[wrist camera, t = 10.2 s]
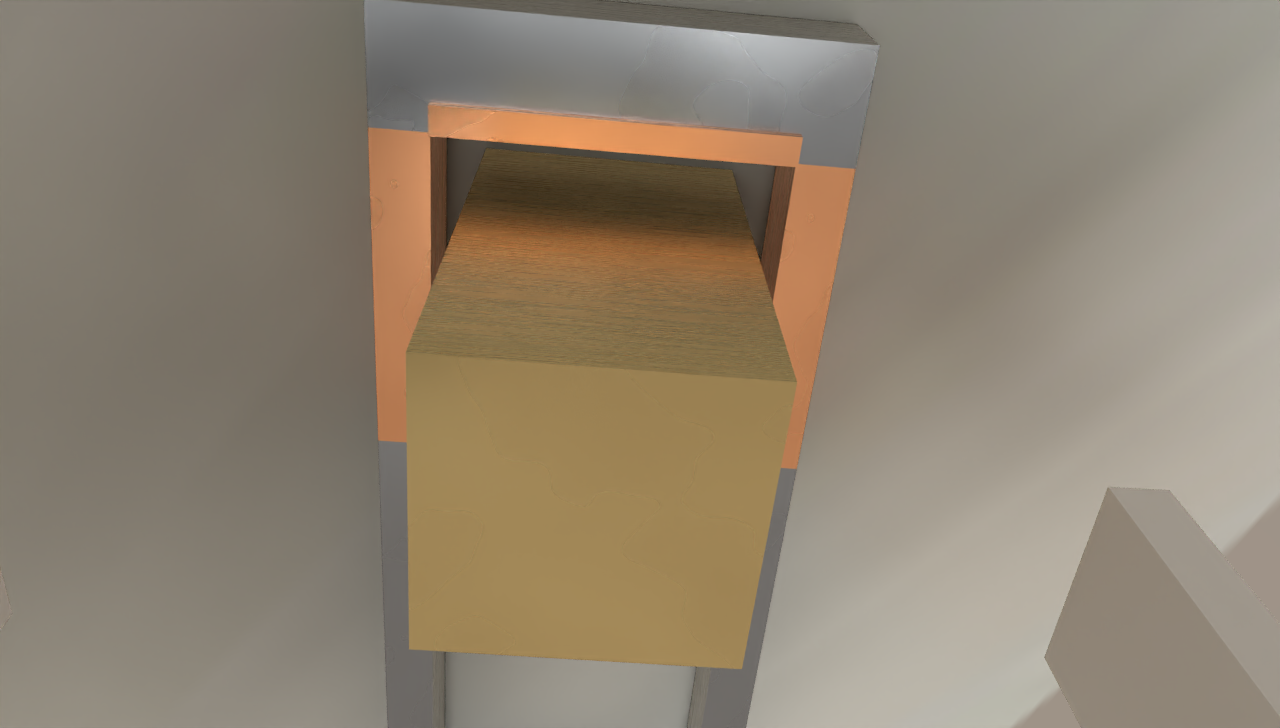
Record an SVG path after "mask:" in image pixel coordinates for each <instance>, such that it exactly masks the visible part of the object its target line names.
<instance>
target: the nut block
mask: <svg viewBox="0 0 1280 728" xmlns="http://www.w3.org/2000/svg"><path fill="white" fill-rule="evenodd" d="M796 386H797V380H796V377H795V374H794V370H793V367H792V364H791V361H790V357H789V354H788V351H787V348H786V344H785V341H784V338H783V335H782V331H781V328H780V325H779V322H778V318H777V315H776V312H775V309H774V305H773V302H772V299H771V296H770V292H769V289H768V286H767V283H766V279H765V276H764V273H763V270H762V266H761V263H760V260H759V257H758V253H757V250H756V247H755V244H754V240H753V237H752V234H751V231H750V227H749V224H748V221H747V218H746V214H745V211H744V208H743V205H742V201H741V198H740V195H739V192H738V188H737V185H736V182H735V179H734V175H733V172H732V170H725V169H714V168H703V167H692V166H681V165H669V164H658V163H647V162H636V161H625V160H613V159H602V158H591V157H580V156H568V155H557V154H546V153H535V152H524V151H512V150H501V149H490V148H486V150H485V153H484V156H483V158H482V161H481V163H480V166H479V168H478V171H477V173H476V176H475V178H474V181H473V183H472V186H471V188H470V191H469V193H468V196H467V198H466V201H465V204H464V206H463V209H462V211H461V214H460V216H459V219H458V221H457V224H456V226H455V229H454V231H453V234H452V236H451V239H450V241H449V244H448V247H447V249H446V252H445V254H444V257H443V259H442V262H441V264H440V267H439V269H438V272H437V274H436V277H435V279H434V282H433V284H432V287H431V289H430V292H429V295H428V297H427V300H426V302H425V305H424V307H423V310H422V312H421V315H420V317H419V320H418V322H417V325H416V327H415V330H414V332H413V335H412V337H411V340H410V343H409V345H408V348H407V350H406V429H407V513H408V597H409V649H411V650H428V651H445V652H461V653H478V654H495V655H512V656H528V657H545V658H562V659H578V660H595V661H612V662H629V663H645V664H662V665H679V666H695V667H712V668H729V669H742V666H743V661H744V656H745V651H746V646H747V640H748V635H749V630H750V625H751V620H752V614H753V609H754V604H755V599H756V594H757V589H758V583H759V578H760V573H761V568H762V563H763V557H764V552H765V547H766V542H767V537H768V532H769V526H770V521H771V516H772V511H773V506H774V500H775V495H776V490H777V485H778V480H779V475H780V469H781V464H782V459H783V454H784V449H785V443H786V438H787V433H788V428H789V423H790V418H791V412H792V407H793V402H794V397H795V392H796Z"/></svg>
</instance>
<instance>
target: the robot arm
mask: <svg viewBox="0 0 1280 728" xmlns="http://www.w3.org/2000/svg"><path fill="white" fill-rule="evenodd" d="M11 615H12V611H11V607H10V603H9V599H8V595H7V591H6V587H5V583H4V580H3V576H2V572H1V568H0V630H1V629H2V627H3V626H4V625H5V623H6V622H7V620H8V619H9V618H10V616H11ZM1044 658H1045V660H1046V661H1047V663H1048V665H1049V667H1050V669H1051V671H1052V673H1053V675H1054V677H1055V679H1056V681H1057V682H1058V684H1059V686H1060V688H1061V690H1062V692H1063V694H1064V696H1065V698H1066V700H1067V702H1068V703H1069V705H1070V707H1071V709H1072V711H1073V713H1074V715H1075V717H1076V719H1077V721H1078V723H1079V724H1080V726H1081V728H1280V623H1279V622H1278V621H1277V620H1276V618H1275V617H1274V616H1273V615H1272V614H1271V612H1270V611H1269V610H1268V609H1267V607H1266V606H1265V605H1264V604H1263V603H1262V601H1261V600H1260V599H1259V598H1258V597H1257V595H1256V594H1255V593H1254V592H1253V591H1252V589H1251V588H1250V587H1249V586H1248V585H1247V583H1246V582H1245V581H1244V580H1243V578H1242V577H1241V576H1240V575H1239V574H1238V572H1237V571H1236V570H1235V569H1234V568H1233V566H1232V565H1231V564H1230V563H1229V562H1228V560H1226V558H1225V557H1224V556H1223V554H1222V553H1221V552H1220V551H1219V550H1218V548H1217V547H1216V546H1215V545H1214V544H1213V542H1212V541H1211V540H1210V539H1209V538H1208V536H1207V535H1206V534H1205V533H1204V531H1203V530H1202V529H1201V528H1200V527H1199V525H1198V524H1197V523H1196V522H1195V521H1194V519H1193V518H1192V517H1191V516H1190V515H1189V513H1188V512H1187V511H1186V510H1185V509H1184V507H1183V506H1182V505H1181V504H1180V503H1179V501H1178V500H1177V499H1176V498H1175V497H1174V495H1173V494H1172V493H1171V492H1170V491H1169V490H1154V489H1136V488H1118V487H1108V489H1107V492H1106V494H1105V497H1104V500H1103V502H1102V505H1101V508H1100V510H1099V513H1098V516H1097V518H1096V521H1095V524H1094V526H1093V529H1092V532H1091V534H1090V537H1089V540H1088V542H1087V545H1086V548H1085V550H1084V553H1083V556H1082V558H1081V561H1080V564H1079V566H1078V569H1077V572H1076V574H1075V577H1074V580H1073V582H1072V585H1071V588H1070V590H1069V593H1068V596H1067V598H1066V601H1065V604H1064V606H1063V609H1062V612H1061V614H1060V617H1059V620H1058V622H1057V625H1056V628H1055V630H1054V633H1053V636H1052V638H1051V641H1050V644H1049V646H1048V649H1047V652H1046V654H1045V657H1044Z"/></svg>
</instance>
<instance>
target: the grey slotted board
mask: <svg viewBox="0 0 1280 728" xmlns="http://www.w3.org/2000/svg"><path fill="white" fill-rule="evenodd" d="M364 24H365V55H366V85H367V115H368V145H369V176H370V206H371V236H372V266H373V297H374V327H375V357H376V387H377V418H378V448H379V478H380V508H381V539H382V569H383V599H384V629H385V659H386V690H387V720H388V728H445V651H428V650H411V649H409V597H408V513H407V429H406V350H407V348H408V345H409V343H410V340H411V337H412V335H413V332H414V330H415V327H416V325H417V322H418V320H419V317H420V315H421V312H422V310H423V307H424V305H425V302H426V300H427V297H428V295H429V292H430V289H431V287H432V284H433V282H434V279H435V277H436V274H437V272H438V269H439V267H440V264H441V262H442V259H443V257H444V254H445V252H446V201H447V138H457V139H469V140H480V141H492V142H504V143H516V144H527V145H539V146H551V147H563V148H574V149H586V150H598V151H610V152H621V153H633V154H645V155H657V156H668V157H680V158H692V159H704V160H715V161H727V162H739V163H751V164H763V165H774V166H776V169H775V176H774V182H773V188H772V195H771V201H770V207H769V214H768V220H767V226H766V232H765V239H764V245H763V251H762V258H761V266H762V270H763V273H764V276H765V279H766V283H767V286H768V289H769V292H770V296H771V299H772V302H773V305H774V309H775V312H776V315H777V318H778V322H779V325H780V328H781V331H782V335H783V338H784V341H785V344H786V348H787V351H788V354H789V357H790V361H791V364H792V367H793V370H794V374H795V377H796V380H797V386H796V392H795V397H794V402H793V407H792V412H791V418H790V423H789V428H788V433H787V438H786V443H785V449H784V454H783V459H782V464H781V469H780V475H779V480H778V485H777V490H776V495H775V500H774V506H773V511H772V516H771V521H770V526H769V532H768V537H767V542H766V547H765V552H764V557H763V563H762V568H761V573H760V578H759V583H758V589H757V594H756V599H755V604H754V609H753V614H752V620H751V625H750V630H749V635H748V640H747V646H746V651H745V656H744V661H743V666H742V669H729V668H712V667H696V673H695V680H694V686H693V692H692V699H691V705H690V711H689V717H688V724H687V728H746V724H747V719H748V714H749V709H750V704H751V699H752V693H753V688H754V683H755V678H756V673H757V668H758V663H759V658H760V653H761V648H762V643H763V637H764V632H765V627H766V622H767V617H768V612H769V607H770V602H771V597H772V592H773V587H774V581H775V576H776V571H777V566H778V561H779V556H780V551H781V546H782V541H783V536H784V531H785V526H786V520H787V515H788V510H789V505H790V500H791V495H792V490H793V485H794V480H795V475H796V470H797V464H798V459H799V454H800V449H801V444H802V439H803V434H804V429H805V424H806V419H807V414H808V408H809V403H810V398H811V393H812V388H813V383H814V378H815V373H816V368H817V363H818V358H819V353H820V347H821V342H822V337H823V332H824V327H825V322H826V317H827V312H828V307H829V302H830V297H831V291H832V286H833V281H834V276H835V271H836V266H837V261H838V256H839V251H840V246H841V241H842V235H843V230H844V225H845V220H846V215H847V210H848V205H849V200H850V195H851V190H852V185H853V180H854V174H855V169H856V164H857V159H858V154H859V149H860V144H861V139H862V134H863V129H864V124H865V118H866V113H867V108H868V103H869V98H870V93H871V88H872V83H873V78H874V73H875V68H876V62H877V57H878V52H879V47H880V45H879V44H878V43H877V42H875V41H874V40H873V39H872V38H871V37H870V36H869V35H868V34H867V33H866V32H865V31H864V30H862V29H861V28H860V27H859V26H858V25H857V24H848V23H838V22H827V21H816V20H806V19H795V18H784V17H773V16H763V15H752V14H741V13H731V12H720V11H709V10H699V9H688V8H677V7H666V6H656V5H645V4H634V3H624V2H613V1H602V0H364Z"/></svg>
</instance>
